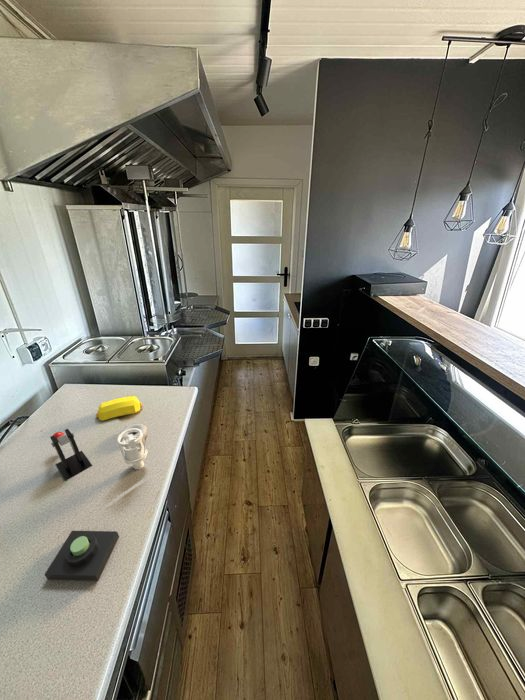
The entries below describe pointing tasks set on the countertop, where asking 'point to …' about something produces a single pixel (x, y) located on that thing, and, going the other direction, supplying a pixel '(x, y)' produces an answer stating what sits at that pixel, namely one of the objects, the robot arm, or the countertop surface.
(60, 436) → the lever
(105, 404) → the yellow bar
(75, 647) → the countertop surface
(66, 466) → the bracket
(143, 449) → the white tall carved piece
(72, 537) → the black base plate
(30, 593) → the countertop surface
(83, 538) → the button
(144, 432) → the donut
